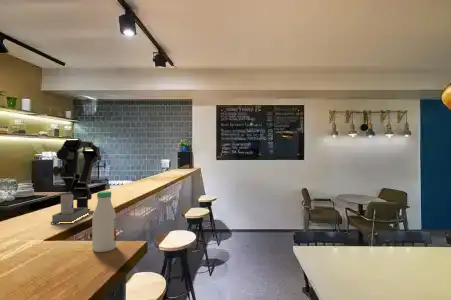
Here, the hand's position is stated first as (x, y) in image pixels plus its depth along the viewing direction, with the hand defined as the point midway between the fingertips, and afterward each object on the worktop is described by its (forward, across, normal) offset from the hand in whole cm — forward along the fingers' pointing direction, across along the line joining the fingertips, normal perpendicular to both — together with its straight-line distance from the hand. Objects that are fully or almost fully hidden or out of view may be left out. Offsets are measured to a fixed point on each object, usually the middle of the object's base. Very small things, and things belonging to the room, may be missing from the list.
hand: (69, 192), depth 148 cm
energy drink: (+13, +9, +2) cm, 16 cm away
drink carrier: (+14, +5, +3) cm, 15 cm away
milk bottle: (+20, +55, +23) cm, 63 cm away
